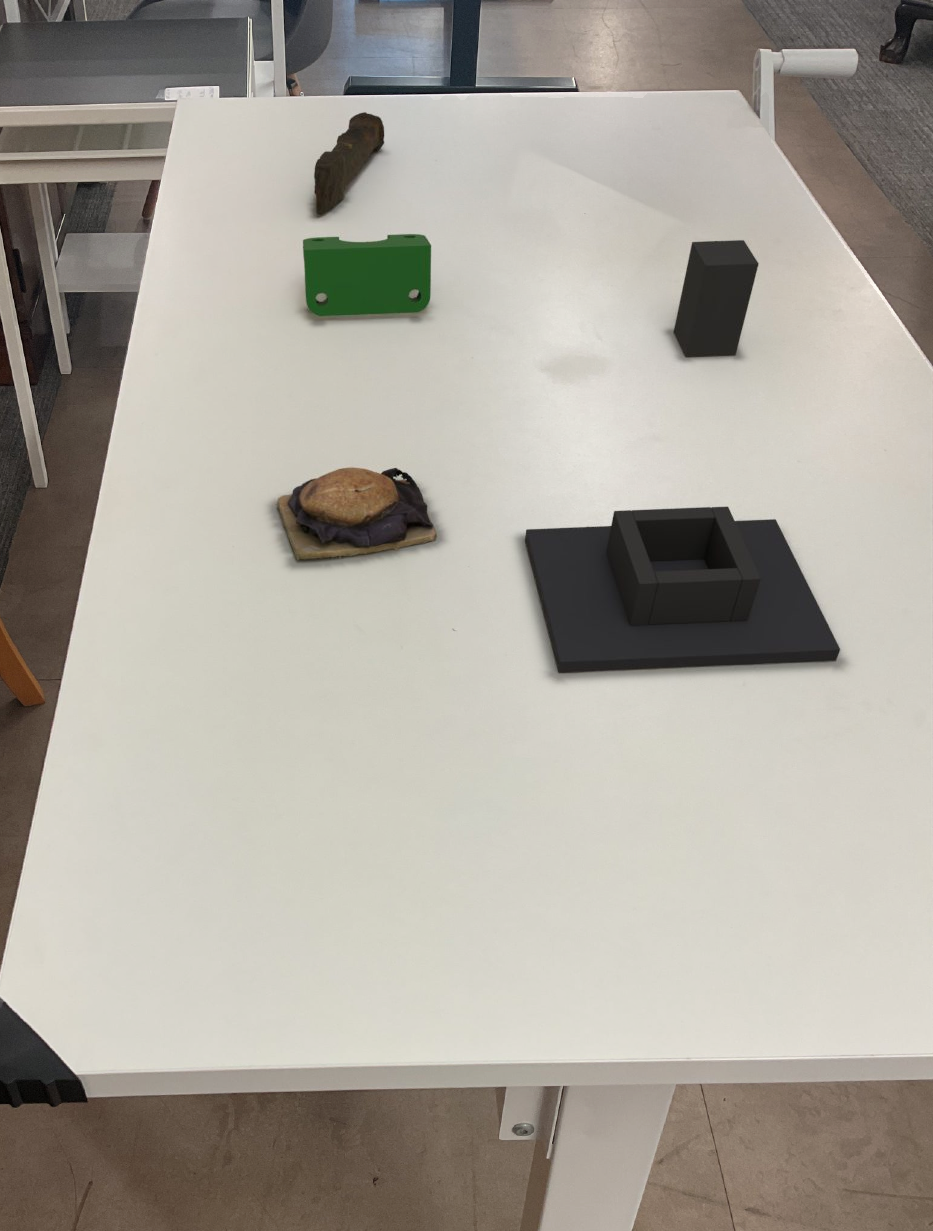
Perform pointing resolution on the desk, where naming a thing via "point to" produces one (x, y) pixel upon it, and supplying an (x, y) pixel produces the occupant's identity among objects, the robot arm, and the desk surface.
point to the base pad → (675, 593)
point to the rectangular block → (715, 298)
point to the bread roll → (355, 514)
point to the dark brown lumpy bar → (346, 159)
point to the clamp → (367, 275)
